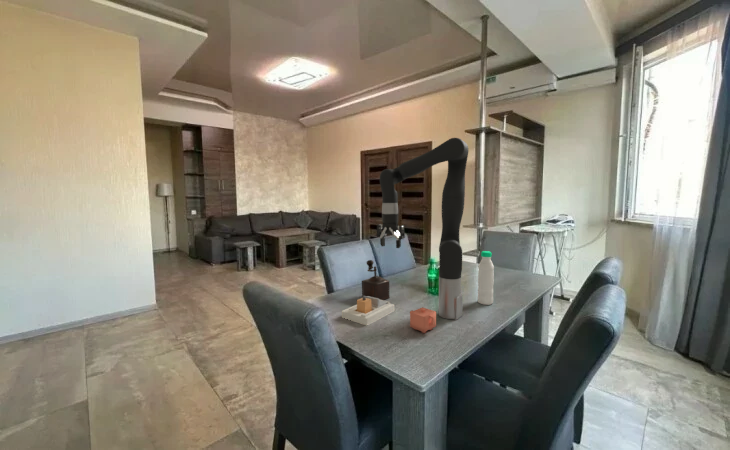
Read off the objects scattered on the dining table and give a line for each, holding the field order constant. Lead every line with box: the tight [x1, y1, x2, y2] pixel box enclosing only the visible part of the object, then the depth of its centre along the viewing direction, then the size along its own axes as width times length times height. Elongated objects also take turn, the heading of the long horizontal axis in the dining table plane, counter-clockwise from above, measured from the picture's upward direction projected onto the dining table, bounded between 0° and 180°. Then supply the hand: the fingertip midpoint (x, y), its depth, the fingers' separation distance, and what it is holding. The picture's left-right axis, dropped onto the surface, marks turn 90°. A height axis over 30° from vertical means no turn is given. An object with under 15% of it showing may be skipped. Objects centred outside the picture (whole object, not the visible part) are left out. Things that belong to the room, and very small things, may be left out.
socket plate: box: [341, 299, 396, 327], centre depth 143 cm, size 14×20×4 cm
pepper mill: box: [361, 259, 390, 301], centre depth 166 cm, size 16×11×18 cm
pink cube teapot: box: [409, 306, 437, 334], centre depth 128 cm, size 8×12×8 cm, turn 42°
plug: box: [356, 296, 372, 314], centre depth 141 cm, size 4×4×8 cm
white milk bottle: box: [477, 250, 495, 306], centre depth 155 cm, size 7×7×25 cm
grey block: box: [366, 296, 387, 308], centre depth 147 cm, size 7×7×4 cm
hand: (390, 247), depth 152 cm, fingers open, 8 cm apart
